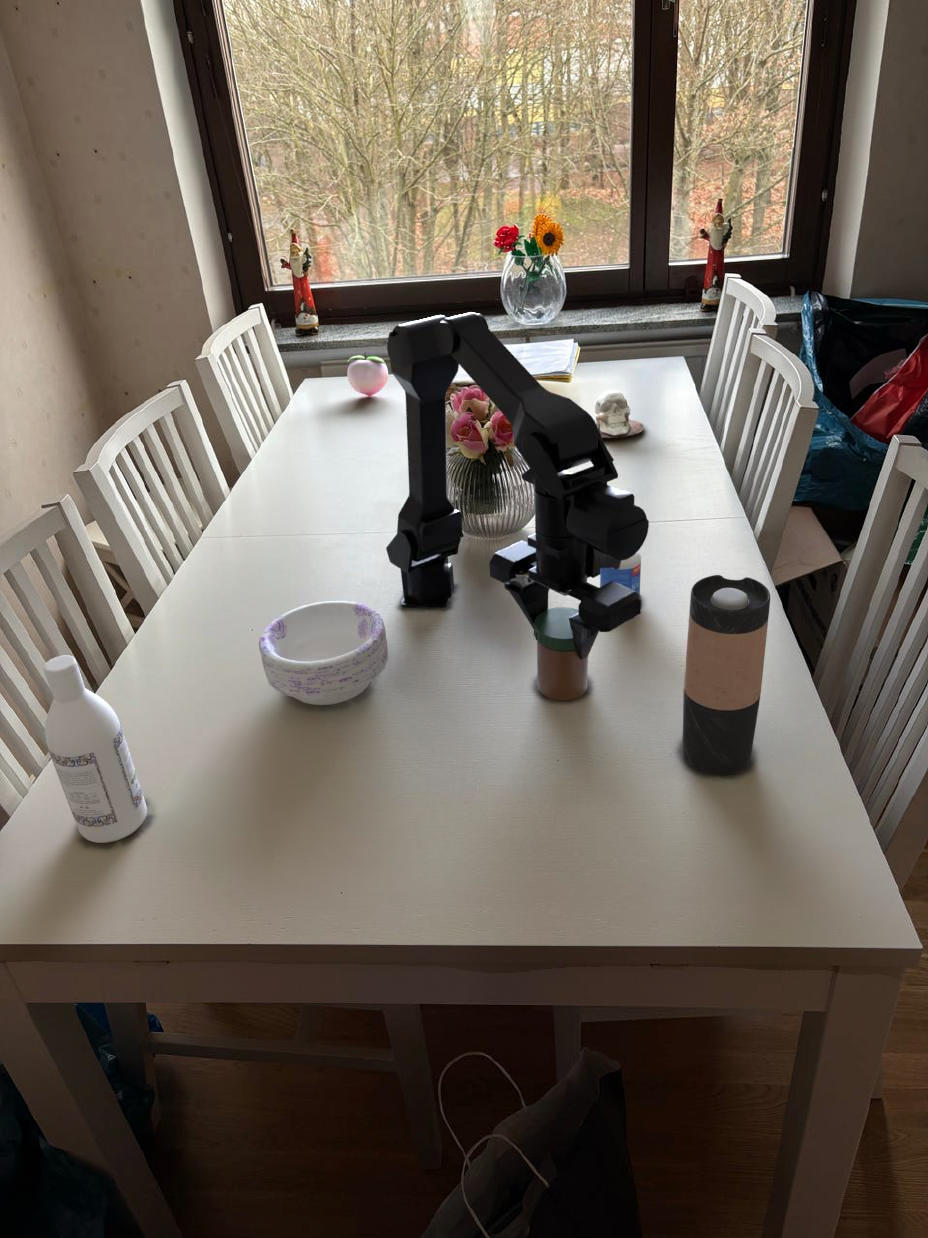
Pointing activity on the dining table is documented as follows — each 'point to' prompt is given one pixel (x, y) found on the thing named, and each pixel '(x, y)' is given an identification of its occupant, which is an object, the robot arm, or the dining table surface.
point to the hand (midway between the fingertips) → (562, 646)
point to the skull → (614, 416)
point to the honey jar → (561, 673)
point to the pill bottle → (624, 573)
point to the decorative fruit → (367, 374)
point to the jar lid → (555, 628)
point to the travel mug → (723, 672)
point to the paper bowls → (324, 651)
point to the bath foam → (91, 757)
